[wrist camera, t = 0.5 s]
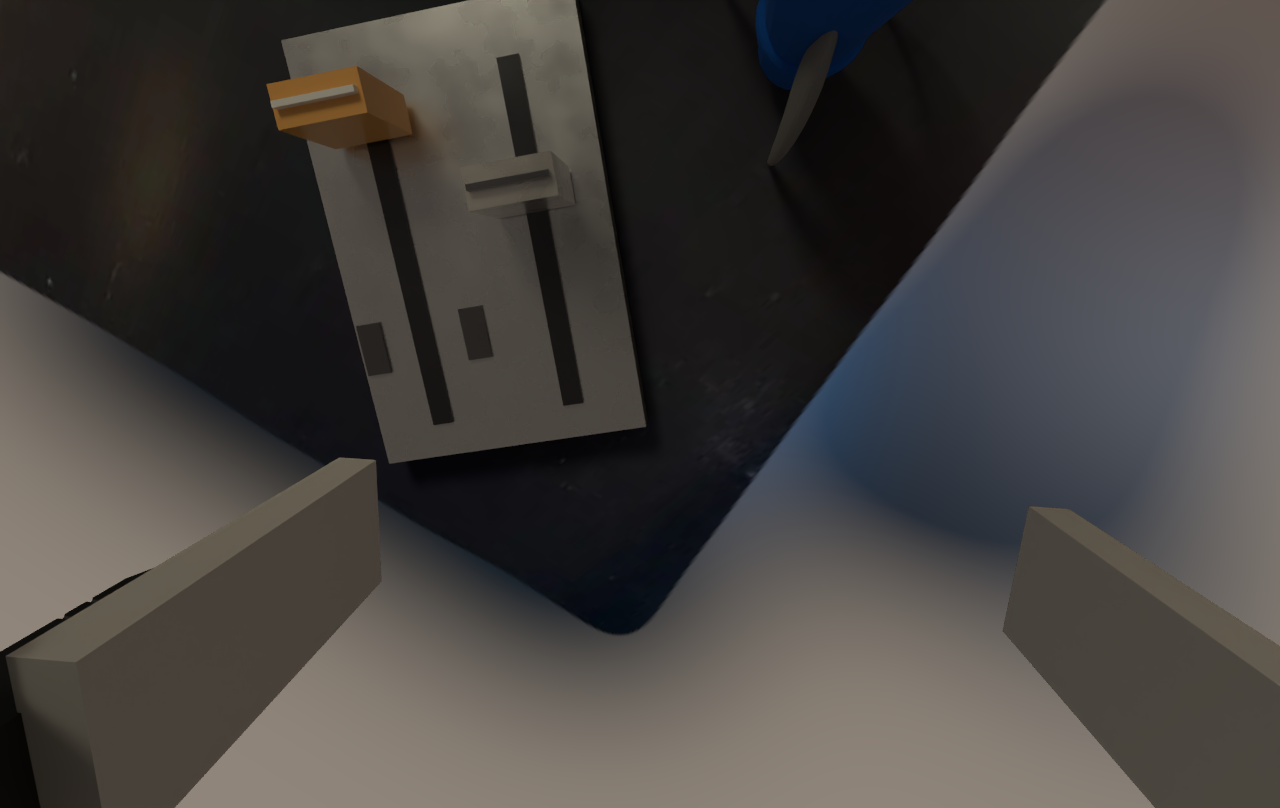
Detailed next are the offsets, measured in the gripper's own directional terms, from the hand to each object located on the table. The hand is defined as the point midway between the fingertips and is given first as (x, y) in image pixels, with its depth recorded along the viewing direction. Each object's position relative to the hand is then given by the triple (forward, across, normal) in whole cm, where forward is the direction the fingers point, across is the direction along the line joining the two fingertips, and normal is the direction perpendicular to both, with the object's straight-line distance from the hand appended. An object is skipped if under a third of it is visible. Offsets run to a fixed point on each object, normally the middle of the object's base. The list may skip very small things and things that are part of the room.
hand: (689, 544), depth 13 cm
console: (+26, -12, +6) cm, 29 cm away
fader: (+24, -18, +12) cm, 32 cm away
